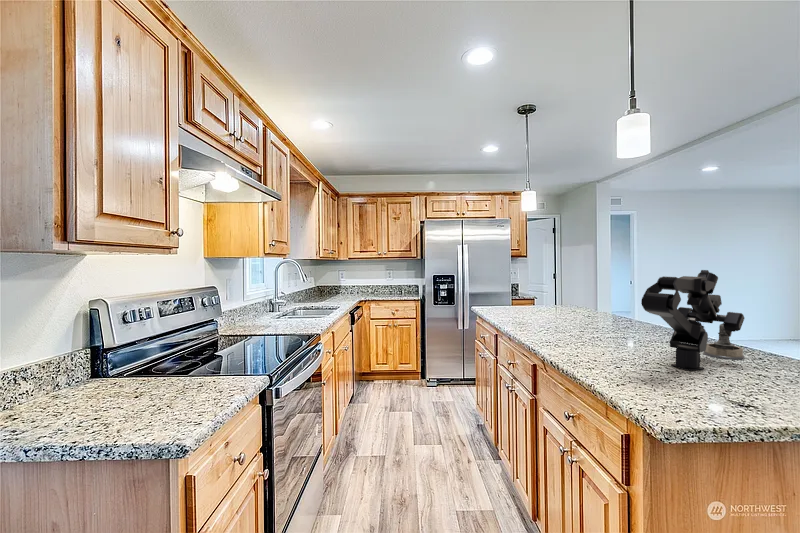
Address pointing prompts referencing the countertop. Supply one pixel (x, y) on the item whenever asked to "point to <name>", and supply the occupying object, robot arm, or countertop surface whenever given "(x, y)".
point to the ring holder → (724, 352)
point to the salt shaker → (723, 339)
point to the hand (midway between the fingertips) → (714, 333)
